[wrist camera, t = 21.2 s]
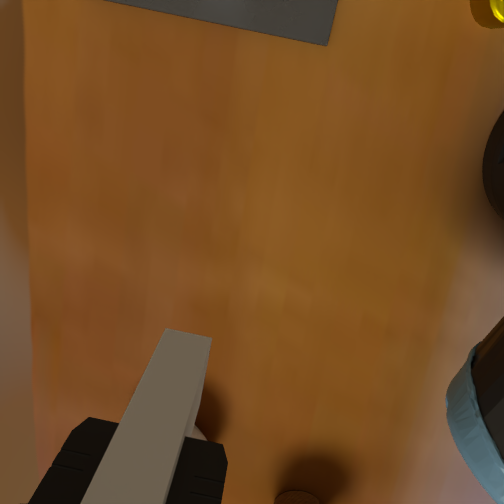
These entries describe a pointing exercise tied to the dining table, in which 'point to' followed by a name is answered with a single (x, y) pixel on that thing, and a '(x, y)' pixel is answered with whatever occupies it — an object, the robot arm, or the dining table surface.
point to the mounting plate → (255, 15)
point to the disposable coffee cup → (296, 498)
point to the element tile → (488, 13)
